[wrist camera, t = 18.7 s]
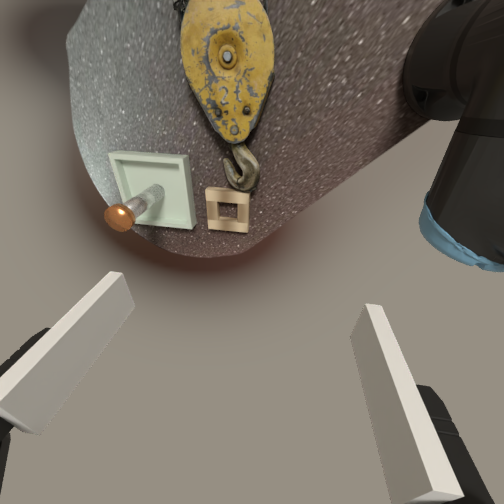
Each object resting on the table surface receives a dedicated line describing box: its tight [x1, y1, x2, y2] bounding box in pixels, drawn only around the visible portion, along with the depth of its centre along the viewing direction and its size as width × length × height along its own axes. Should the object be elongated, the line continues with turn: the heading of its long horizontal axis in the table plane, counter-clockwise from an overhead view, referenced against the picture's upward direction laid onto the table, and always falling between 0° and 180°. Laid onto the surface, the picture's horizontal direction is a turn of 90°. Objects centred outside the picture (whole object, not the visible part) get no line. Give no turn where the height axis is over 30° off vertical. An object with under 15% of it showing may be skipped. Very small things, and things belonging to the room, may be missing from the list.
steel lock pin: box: [104, 184, 165, 232], centre depth 43 cm, size 4×4×14 cm
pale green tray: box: [108, 150, 197, 229], centre depth 48 cm, size 15×15×3 cm
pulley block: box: [173, 0, 275, 192], centre depth 37 cm, size 14×6×30 cm
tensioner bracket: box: [205, 187, 250, 233], centre depth 49 cm, size 9×9×2 cm
